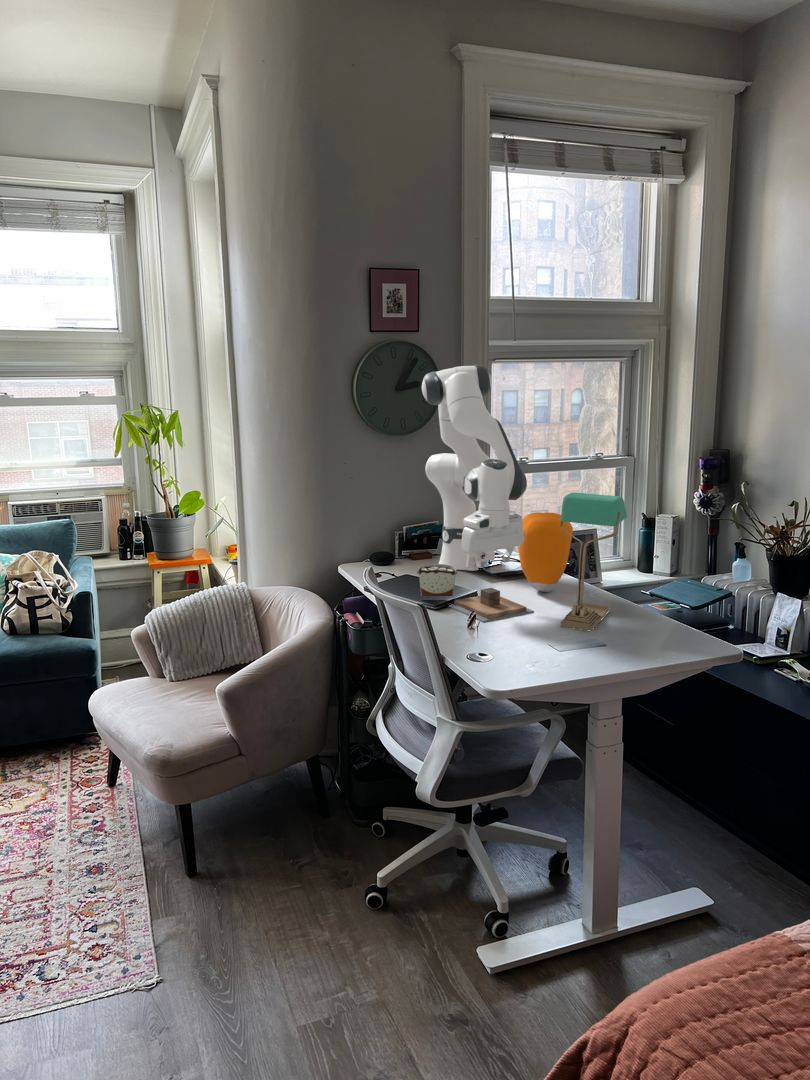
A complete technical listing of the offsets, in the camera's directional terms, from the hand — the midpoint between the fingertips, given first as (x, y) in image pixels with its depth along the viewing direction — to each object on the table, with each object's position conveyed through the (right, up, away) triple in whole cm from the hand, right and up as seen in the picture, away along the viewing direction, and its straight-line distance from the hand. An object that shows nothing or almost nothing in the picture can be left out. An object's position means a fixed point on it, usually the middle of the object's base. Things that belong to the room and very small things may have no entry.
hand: (493, 564), depth 235 cm
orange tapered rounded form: (+18, -9, +20) cm, 28 cm away
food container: (-16, -11, +13) cm, 23 cm away
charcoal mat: (-1, -13, +2) cm, 13 cm away
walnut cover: (-1, -13, +2) cm, 13 cm away
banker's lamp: (+25, -15, -6) cm, 30 cm away
